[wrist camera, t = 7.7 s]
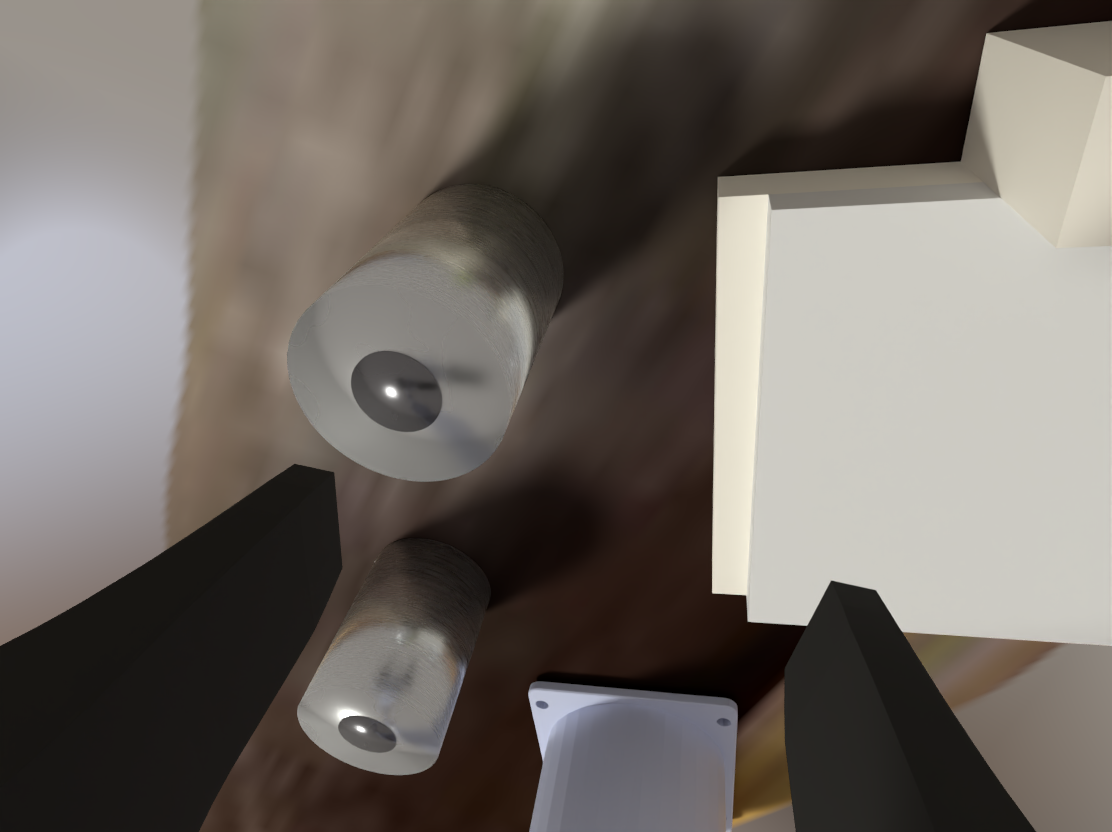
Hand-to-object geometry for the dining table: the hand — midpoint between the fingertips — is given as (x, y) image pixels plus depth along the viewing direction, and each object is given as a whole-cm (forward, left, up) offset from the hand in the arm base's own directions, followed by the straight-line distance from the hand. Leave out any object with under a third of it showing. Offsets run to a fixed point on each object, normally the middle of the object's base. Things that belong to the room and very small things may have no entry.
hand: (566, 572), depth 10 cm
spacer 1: (+1, +4, -10) cm, 10 cm away
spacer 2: (-11, +8, -10) cm, 17 cm away
